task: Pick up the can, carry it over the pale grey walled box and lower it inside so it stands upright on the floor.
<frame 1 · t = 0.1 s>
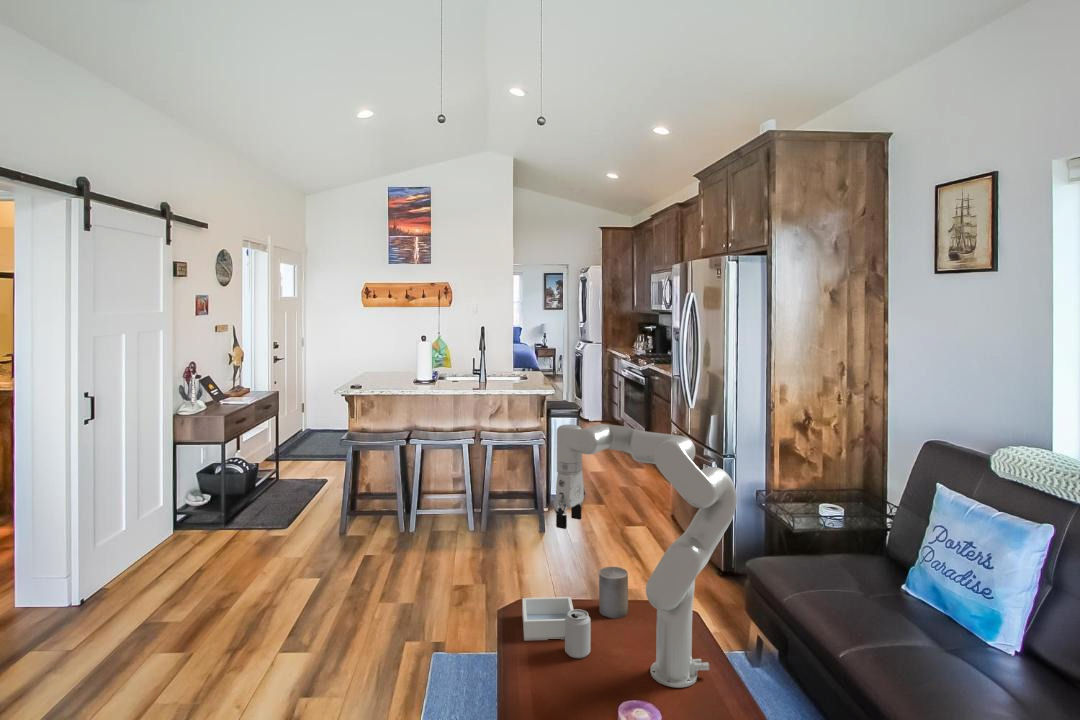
hand: (569, 523, 185), 37 cm above the table, tool pointing down, fingers open, 9 cm apart
can: (577, 653, 182), on the table
pillar candle: (613, 612, 207), on the table
walled box: (548, 627, 197), on the table
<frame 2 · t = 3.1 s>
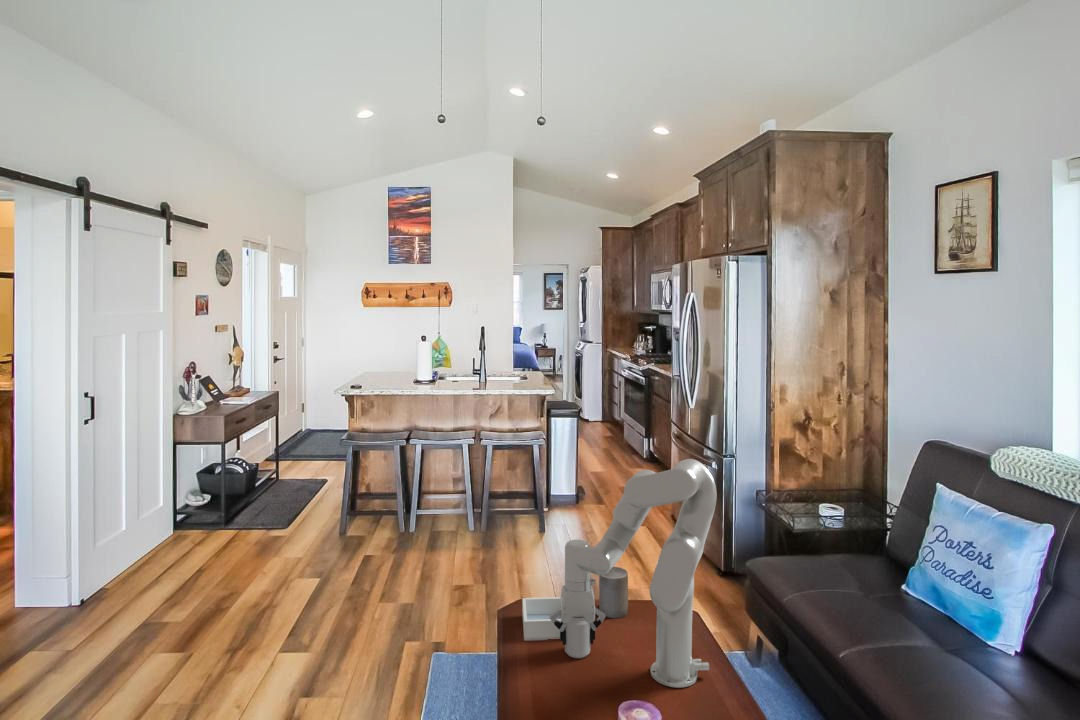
hand: (577, 641, 181), 3 cm above the table, tool pointing down, fingers closed on can, 7 cm apart
can: (577, 653, 182), on the table, touching gripper
everything else where it was.
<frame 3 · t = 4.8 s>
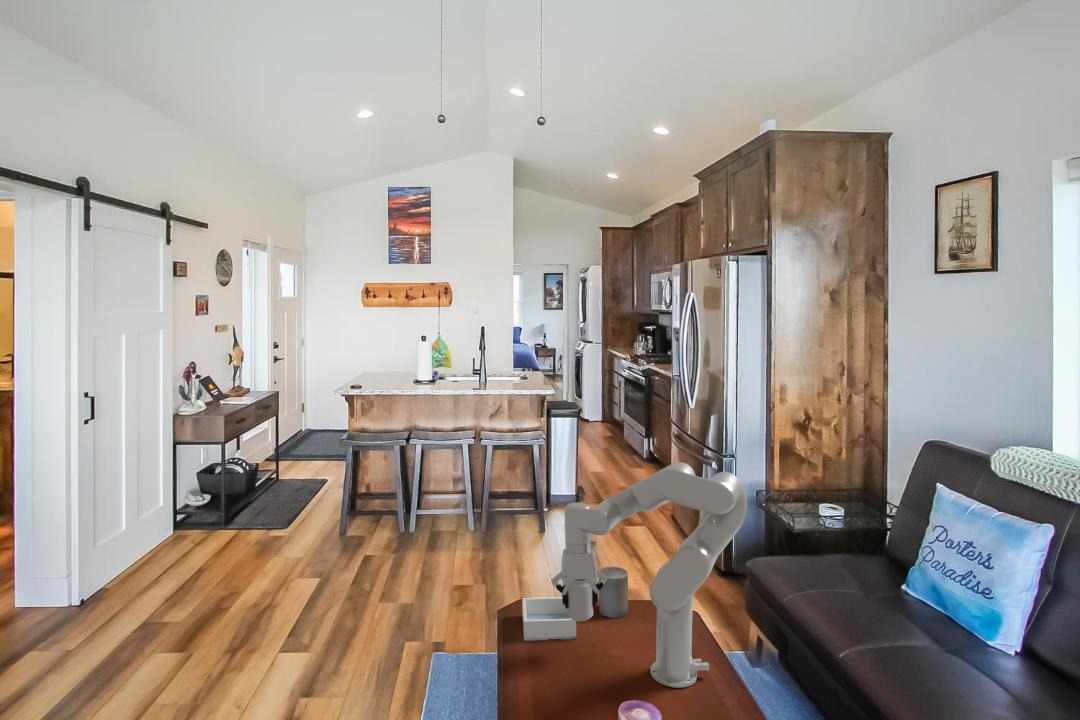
hand: (580, 605, 180), 14 cm above the table, tool pointing down, fingers closed on can, 7 cm apart
can: (580, 617, 181), point 11 cm above the table, touching gripper
everything else where it was.
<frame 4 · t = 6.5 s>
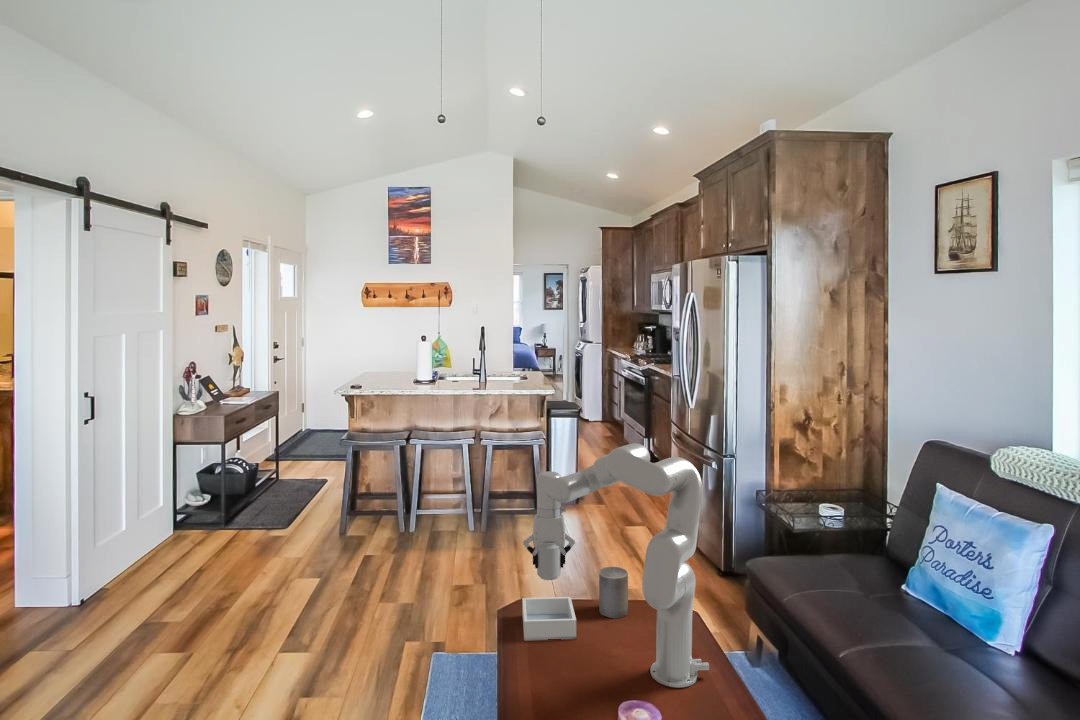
hand: (548, 566, 195), 20 cm above the table, tool pointing down, fingers closed on can, 7 cm apart
can: (548, 577, 196), point 17 cm above the table, touching gripper
everything else where it was.
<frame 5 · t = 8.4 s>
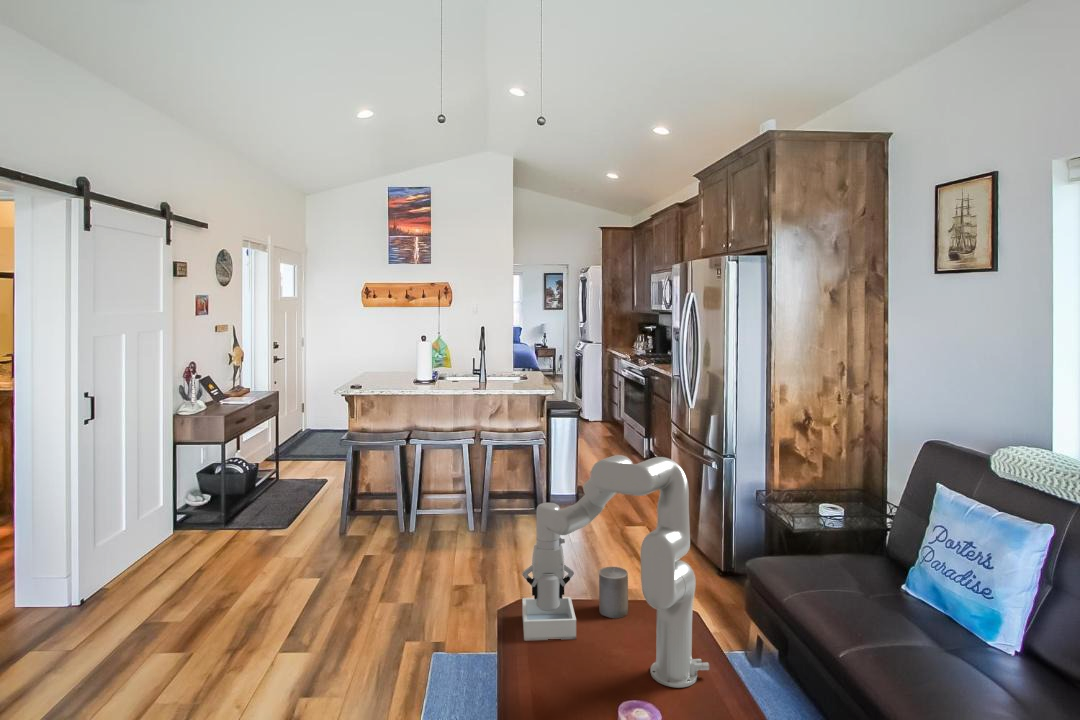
hand: (548, 596, 197), 10 cm above the table, tool pointing down, fingers closed on can, 7 cm apart
can: (548, 607, 197), point 6 cm above the table, touching gripper
everything else where it was.
when the fingers open (5 cm above the table, at t = 9.9 s): can drops 1 cm, resting on walled box.
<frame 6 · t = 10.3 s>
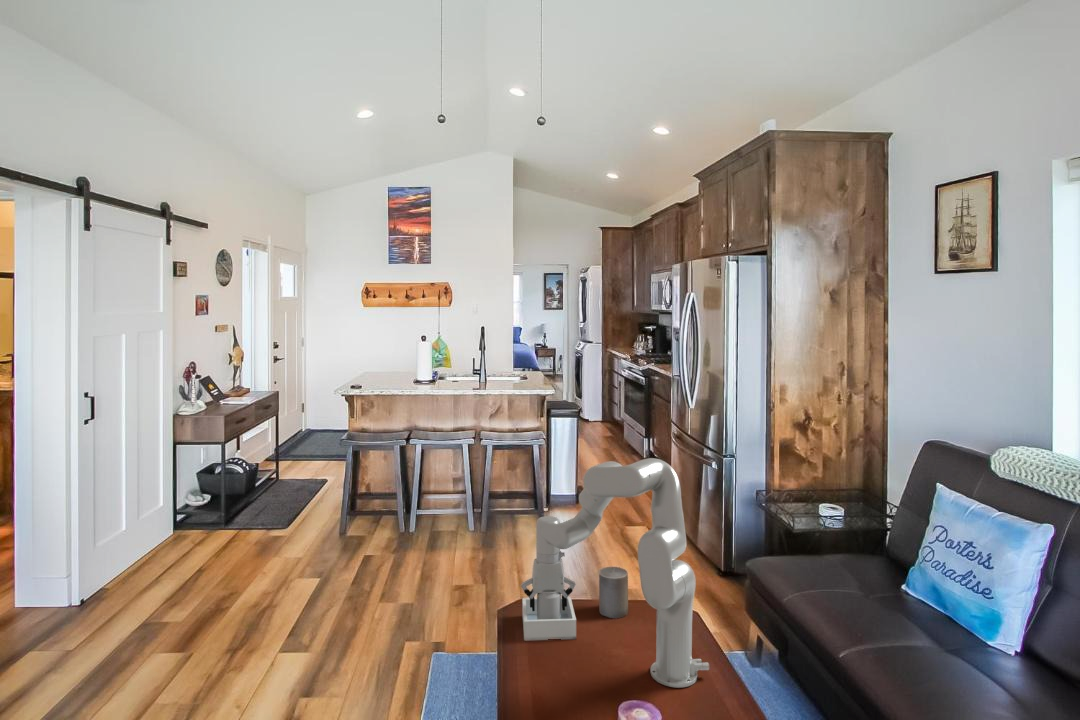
hand: (548, 608, 197), 6 cm above the table, tool pointing down, fingers open, 9 cm apart
can: (548, 625, 197), point 1 cm above the table, touching walled box
everything else where it was.
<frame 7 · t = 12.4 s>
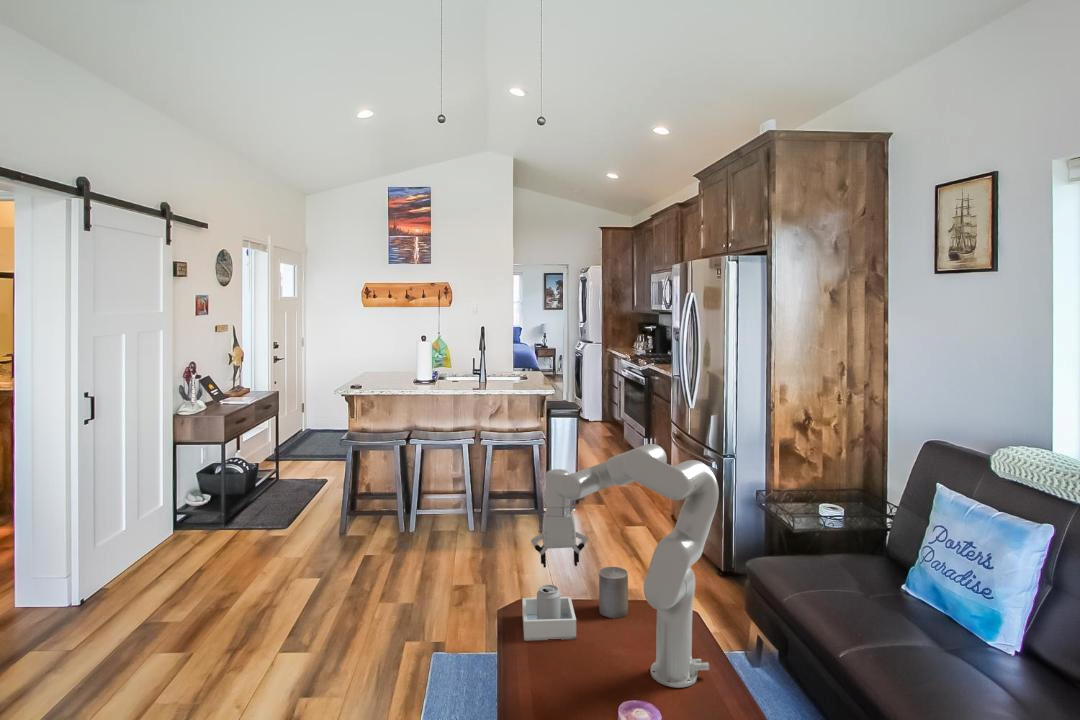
hand: (560, 565, 191), 22 cm above the table, tool pointing down, fingers open, 9 cm apart
nothing on the table moved.
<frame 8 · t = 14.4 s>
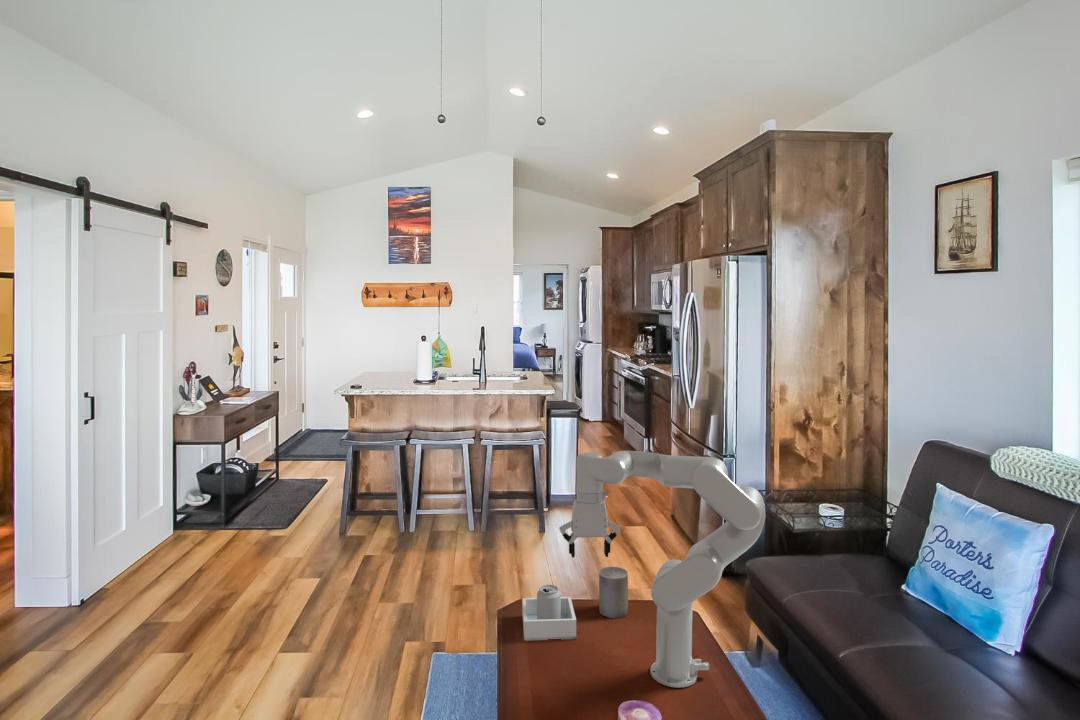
hand: (589, 555, 177), 30 cm above the table, tool pointing down, fingers open, 9 cm apart
nothing on the table moved.
at the end: can inside the target area on the walled box (0.2 cm from its centre), point 0.6 cm above the walled box's base; can tilted 0°; the gripper is holding nothing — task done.
